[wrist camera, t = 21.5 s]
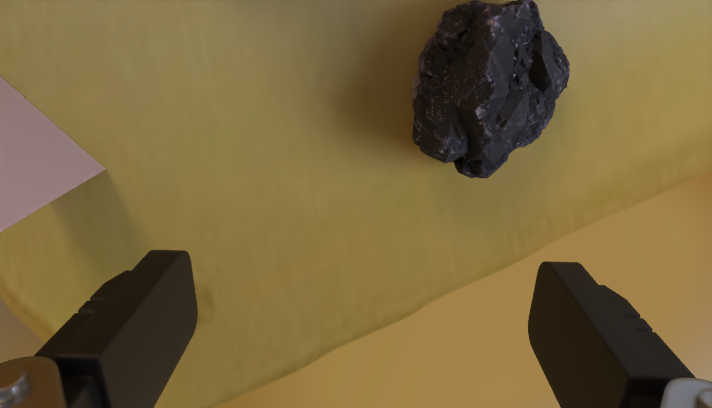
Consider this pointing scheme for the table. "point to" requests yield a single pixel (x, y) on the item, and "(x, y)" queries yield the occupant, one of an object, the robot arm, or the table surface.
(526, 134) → the crystal cluster
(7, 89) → the greeting card
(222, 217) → the table surface
